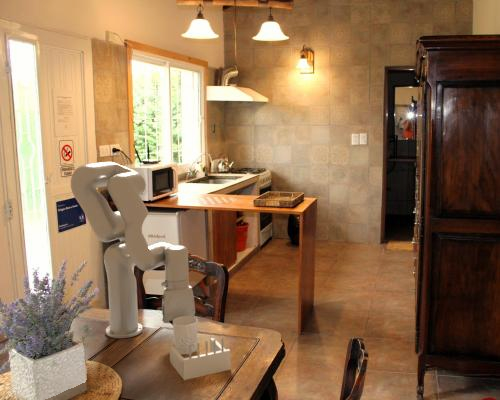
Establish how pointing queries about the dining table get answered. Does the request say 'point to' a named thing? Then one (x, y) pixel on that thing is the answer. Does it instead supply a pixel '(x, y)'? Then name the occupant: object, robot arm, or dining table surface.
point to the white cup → (185, 334)
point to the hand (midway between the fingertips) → (179, 336)
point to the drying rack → (201, 360)
